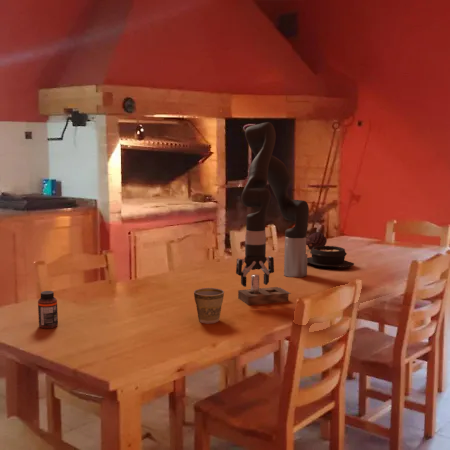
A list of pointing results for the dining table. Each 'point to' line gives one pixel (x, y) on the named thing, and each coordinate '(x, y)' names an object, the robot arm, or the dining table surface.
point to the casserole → (328, 257)
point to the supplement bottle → (47, 310)
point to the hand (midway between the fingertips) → (254, 285)
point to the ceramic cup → (208, 304)
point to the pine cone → (316, 240)
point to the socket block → (263, 296)
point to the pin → (254, 284)
